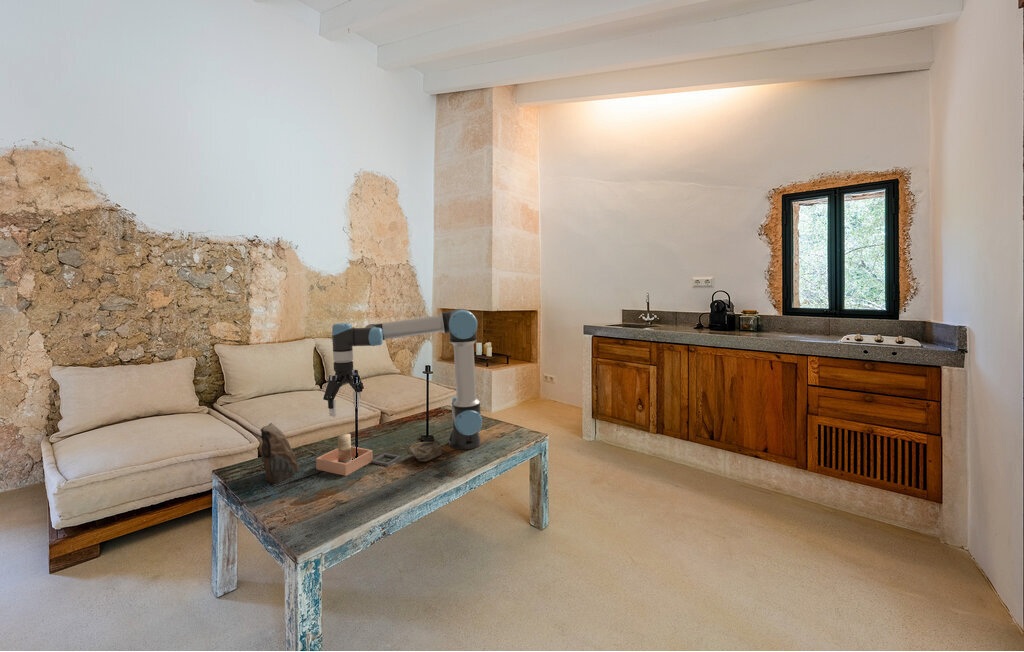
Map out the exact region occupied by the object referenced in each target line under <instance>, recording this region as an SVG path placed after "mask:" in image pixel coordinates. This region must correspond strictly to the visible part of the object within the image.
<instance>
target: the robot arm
mask: <svg viewBox="0 0 1024 652" xmlns="http://www.w3.org/2000/svg"><path fill="white" fill-rule="evenodd" d="M331 329H332V330H331V331H332V332H331V341H332V357H333V361H334V362H333V371H334V372H335V373H334V374H333V375H332V374H331V375H328V381H327V386H326V387H325V391H324V395H323V398H322V399H323V400H324V401H327V408H328V411H329V417H333V418H334V417H335V418H336V417H337V402H336V400H335V398H336V396H337V394H338V392H339V391H340V389H341V387H342V386H343V385H345V384H349V386H350V387H351V388H352V389H353V393H352V394H353V407H354V408H361V393H362V392H363V390H364V389H365V386H364V384H363V382H362V380H361V378H360V375H359V370H358V369H354V361H353V360H354V350H353V348H354V347H375V346H376V347H377V346H381V345H382V344H383V341H385V340H386V341H387V340H392V339H399V338H405V337H412V336H413V337H414V336H421V335H429V334H435V333H442V334H449V343H450V344H451V345H452V346H453V360H454V376H455V377H454V378H455V393H456V395H455V396H453V397H452V398H451V417H452V418H451V421H452V422H451V423H452V424H451V425H452V428H451V432H450V435H449V438H448V445H449V447H450V448H452V449H456V450H471V449H475V448H478V447H479V446H480V445H481V444H482V442H481V441H482V440H481V439H482V438H481V435H480V433H479V431H480V430H481V428H482V425H483V417H482V413H481V401H480V399H478V398H477V386H476V367H475V366H476V365H475V350H474V349H475V348H474V344H476V342H477V330H478V320H477V318H476V316H475V315H474V314H473V313H472V312H471V311H470V310H467V309H464V308H457V309H454V310H449V311H444V312H440V313H439V315H432V316H426V317H425V316H424V317H417V318H411V319H404V320H396V321H391V322H390V321H389V322H388V321H387V322H383V323H375V324H374V323H371V324H367V325H366V326H365V327H353V326H352V323H350V322H338V323H334V324H332V327H331ZM355 376H358V377H359V380H360V384H359V385H358V386H357V407H356V388H355V385H353V381H354V377H355ZM354 384H355V383H354Z"/></svg>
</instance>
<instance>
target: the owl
mask: <svg viewBox="0 0 1024 652" xmlns="http://www.w3.org/2000/svg"><path fill="white" fill-rule="evenodd" d="M259 431H260V432H261V433H260V434H261V435H260V439H261V441H262V444H261V446H260V447H261V457H260V459H261V461H262V463H263V467H264V471H265V474H264V477H265V478H266V479H265V482H267V483H271V484H278V483H281V482H283V481H284V480H287V479H289V478H291V477H293V476H296V475H297V474H298V473H300V472H301V471H300V465H298V462H297V457H296V453H294V451H293V450H292V449H293V448H291V444H290V442H289V440H288V439H287V436H286V435H285V434H284V432H283V431H282V430H281V429H280V428H278V427H277V426H276V425H275V424H273V423H272V422H270V423H269V424H268V425H265V426H263V427H262V428H261V429H260V430H259Z"/></svg>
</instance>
